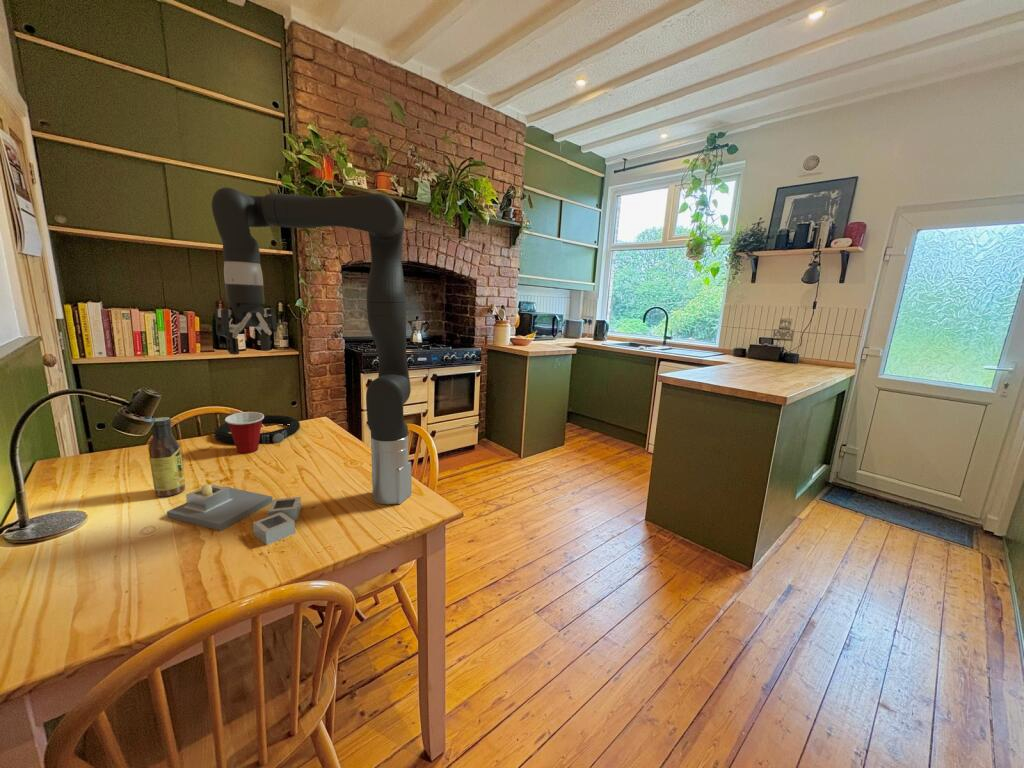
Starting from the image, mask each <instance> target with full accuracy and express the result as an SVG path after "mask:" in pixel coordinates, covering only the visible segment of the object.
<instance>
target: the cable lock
mask: <svg viewBox="0 0 1024 768" xmlns="http://www.w3.org/2000/svg"><path fill="white" fill-rule="evenodd" d="M269 424H270V425H272V424H275V425H276V424H277V425H285V427H284V428H280V429H276V430H272V431H266V432H260V439H259V444H269V443H271V442H272V444H280V443H282V442H283V441H284V440H285V439H287V438H288V437H290V436H292V435H295V434H296V433H297V432H298V431H299V430H300V427H301V424H300V422H299V420H297V418H294V417H292V416H288V415H280V414H279V415H278V414H277V415H273V414H272V415H271V414H267V415H264V418H263V420H262V424H261V425H269ZM287 424H290V425H288V426H287ZM295 432H296V433H295ZM213 435H214V438H215V439H216V440H217V441H219V442H222V443H225V444H231V445H235V443H234V440H233V437H232V434H231V431H230V428H229V426H228V424H227V422H224V423H223V424H220V425H219V426H218V427H217V428H215V430H214V432H213ZM289 435H290V436H289ZM270 441H271V442H270Z"/></svg>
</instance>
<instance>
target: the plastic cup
mask: <svg viewBox="0 0 1024 768" xmlns="http://www.w3.org/2000/svg"><path fill="white" fill-rule="evenodd" d="M264 416H265V415H264V413H262V412H256V411H245V412H244V411H243V412H237V413H232V414H230V415H228V416H226V417H225V418H224V421H225V423H227V424H228V426H229V428H230V431H229V432H230V433H231V434H232V437H233V440H234V443H235V444H234V445H235V448H236V451H237V453H238V454H243V455H244V454H251V453H255V452H257V451H258V450H259V445H260V443H259V439H260V433H261V428H262V425H263V424H262V420H263V418H264Z"/></svg>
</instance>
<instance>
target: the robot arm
mask: <svg viewBox="0 0 1024 768" xmlns="http://www.w3.org/2000/svg"><path fill="white" fill-rule="evenodd" d="M211 211H212V215H213V219H214V221H215V225H216V227H217V231H218V234H219V236H220V239H221V241H222V252H223V253H222V254H223V265H224V266H223V276H224V287H225V288H224V290H225V298H226V302H227V303H228V309H227V308H217V307H216V308H215V310H214V312H215V313H214V314H215V315H214V317H215V333H216V335H217V336H221V337H224V338H225V341H226V343H225V344H226V350H227V352H228V353H229V354H230V355H236V356H237V355H239V354H240V349H239V338H238V336H239V334H240V332H241V331H243V330H244V328H250V327H253V328H254V329H256V330H257V332H258V333H259V334H260V335H259V342H260V343H259V344H260V345H259V346H260V349H261V351H264V352H265V351H266V352H267V351H270V350H271V347H272V342H271V335H272V334H273V333H277V332H278V323H277V316H276V311H275V309H274V308H272V307H263V305H264V304H265V303H266V302H265V291H264V278H263V271H262V270H263V269H262V266H261V254H260V253H261V252H260V246H259V243H258V240H256V239H255V237H253V235H252V233H251V230H250V228H266V227H279V228H291V229H292V228H293V229H314V228H316V229H317V228H325V227H326V228H328V227H340V228H341V227H342V228H349V229H355V230H358V231H364V232H366V233H367V234H368V239H369V246H370V257H371V260H370V261H371V263H370V270H369V274H368V280H367V286H366V297H365V298H366V315H367V316H366V317H367V324H368V327H369V330H370V333H371V334H370V335H371V336H372V339H373V341H374V344H375V348H376V349H377V355H378V375H377V378H375V379H374V380H372V381H370V382H369V384H368V386H367V389H366V394H365V406H366V419H367V420H366V422H367V426H368V429H369V430H370V442H371V444H370V448H371V450H370V451H371V454H370V455H371V485H372V489H371V491H372V500H373V501H374V503H377V504H380V505H401V504H403V503H404V502H405V501H406V499H408V498H409V497H410V496H411V495H413V494H412V493H413V492H412V490H413V489H412V487H413V486H412V461H410V460H409V427H408V424H407V423H406V422H405V420H404V419H405V417H404V404H406V402H407V401H408V400H409V398H410V396H411V391H412V390H411V389H412V388H411V381H410V379H411V378H410V374H409V368H408V360H407V359H408V358H407V310H406V309H407V306H406V305H407V304H406V301H407V299H406V289H405V278H404V269H403V262H402V261H403V258H402V257H403V241H404V240H403V237H404V228H405V224H404V220H405V219H404V214H403V212H402V209H401V208H400V207H399V206H398V204H397V203H396V201H395V200H393V198H391V197H390V196H388V195H386V194H384V193H368V194H360V195H350V196H349V195H347V196H312V195H303V194H302V195H301V194H300V195H299V194H288V193H287V194H286V193H267V194H265V195H264V196H262V195H250V194H246V193H244V192H241V191H240V190H237V189H235V188H231V187H227V186H226V187H221V188H219V189H217V190H216V191H215V192H214V194H213V196H212V200H211Z"/></svg>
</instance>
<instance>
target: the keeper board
mask: <svg viewBox="0 0 1024 768" xmlns="http://www.w3.org/2000/svg"><path fill="white" fill-rule="evenodd" d="M210 484H211V483H210ZM210 484H204V485H202V486H200V489H202V496H208V495H210V494H213V493H212V485H213V484H212V485H210ZM222 487H226V488H229V492H230V500H228V501H226V502H224V503H222V504H220V505H218V506H215V507H213V508H211V509H209V510H207V511H205V510H201V509H197V508H193V507H189V506H187V502H185V503H184V504H180V505H178V506H176V507H174V508H172V509H169V510H167V511H166V515H167V516H166V517H167V518H168V519H173V520H177V521H180V522H185V523H189V524H193V525H196V526H200V527H204V528H209V529H213V530H216V531H222V530H224V529H227V528H228V527H229V526H232V525H233V524H235V523H238V522H239V521H241V520H243V519H245V518H247V517H248V516H251V515H252V514H253V513H256V512H257V511H259V510H260V509H263V508H264V507H267V506H269V505H271V503H272V501H273V496H272V495H271V496H270V495H267V494H261V493H259V492H258V493H257V492H252V491H247V490H243V489H238V488H233V487H230V486H222Z"/></svg>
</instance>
